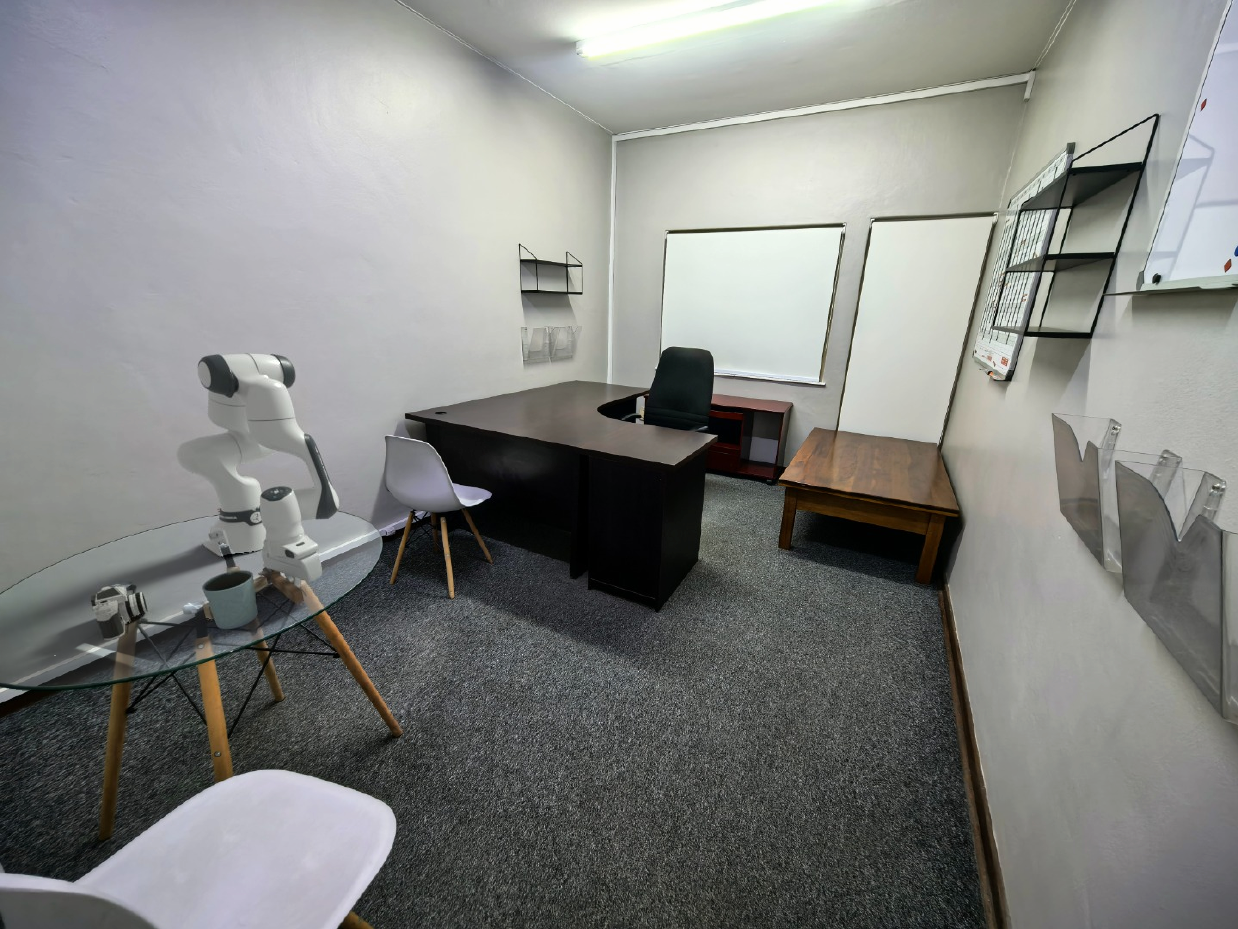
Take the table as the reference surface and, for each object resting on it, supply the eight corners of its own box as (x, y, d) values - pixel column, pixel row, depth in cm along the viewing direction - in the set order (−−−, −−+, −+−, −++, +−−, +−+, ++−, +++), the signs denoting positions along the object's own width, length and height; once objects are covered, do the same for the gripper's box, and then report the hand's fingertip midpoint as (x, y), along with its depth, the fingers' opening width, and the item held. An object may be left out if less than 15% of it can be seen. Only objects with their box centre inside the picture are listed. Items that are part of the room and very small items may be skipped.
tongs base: (274, 580, 139) (271, 564, 138) (283, 582, 138) (280, 565, 137) (203, 618, 121) (199, 600, 119) (214, 620, 120) (209, 602, 118)
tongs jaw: (266, 582, 137) (262, 564, 136) (274, 579, 139) (270, 561, 137) (296, 606, 127) (292, 586, 125) (304, 602, 128) (300, 583, 126)
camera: (149, 629, 116) (138, 595, 113) (99, 644, 110) (86, 609, 107) (147, 602, 127) (137, 571, 124) (101, 615, 121) (90, 582, 118)
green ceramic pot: (256, 604, 128) (247, 566, 124) (266, 619, 121) (257, 580, 118) (209, 620, 120) (198, 580, 117) (216, 637, 114) (205, 595, 110)
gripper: (251, 541, 129) (261, 583, 133) (300, 555, 122) (309, 600, 126) (274, 532, 135) (283, 573, 139) (322, 546, 128) (330, 588, 132)
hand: (295, 586), depth 132 cm, fingers closed
